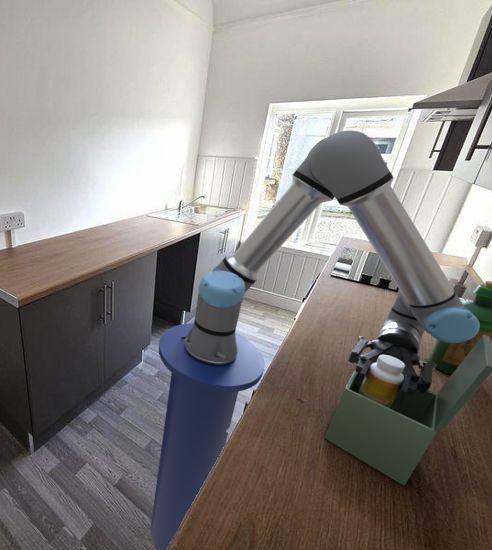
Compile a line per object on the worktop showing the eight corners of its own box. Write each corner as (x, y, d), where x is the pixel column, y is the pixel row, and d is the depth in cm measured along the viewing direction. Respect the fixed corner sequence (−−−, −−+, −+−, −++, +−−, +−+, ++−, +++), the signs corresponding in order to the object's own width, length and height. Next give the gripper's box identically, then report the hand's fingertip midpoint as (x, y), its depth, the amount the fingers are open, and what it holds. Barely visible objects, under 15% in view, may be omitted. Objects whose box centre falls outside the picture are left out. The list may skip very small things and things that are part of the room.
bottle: (456, 382, 83) (509, 292, 73) (414, 359, 93) (455, 276, 82) (482, 378, 85) (537, 290, 75) (438, 355, 95) (482, 275, 85)
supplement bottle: (393, 413, 58) (414, 373, 54) (360, 402, 60) (377, 363, 56) (387, 396, 62) (406, 358, 58) (356, 386, 64) (372, 349, 61)
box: (324, 438, 64) (344, 388, 59) (340, 407, 72) (359, 361, 67) (404, 486, 55) (436, 432, 50) (411, 444, 63) (440, 395, 58)
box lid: (487, 364, 44) (495, 368, 43) (482, 334, 52) (489, 336, 52) (434, 428, 50) (441, 432, 49) (438, 392, 58) (444, 394, 58)
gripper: (444, 376, 66) (439, 435, 51) (346, 339, 78) (319, 378, 63) (460, 348, 63) (459, 401, 48) (356, 314, 75) (330, 348, 60)
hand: (380, 388), depth 55 cm, fingers closed on supplement bottle, 5 cm apart
